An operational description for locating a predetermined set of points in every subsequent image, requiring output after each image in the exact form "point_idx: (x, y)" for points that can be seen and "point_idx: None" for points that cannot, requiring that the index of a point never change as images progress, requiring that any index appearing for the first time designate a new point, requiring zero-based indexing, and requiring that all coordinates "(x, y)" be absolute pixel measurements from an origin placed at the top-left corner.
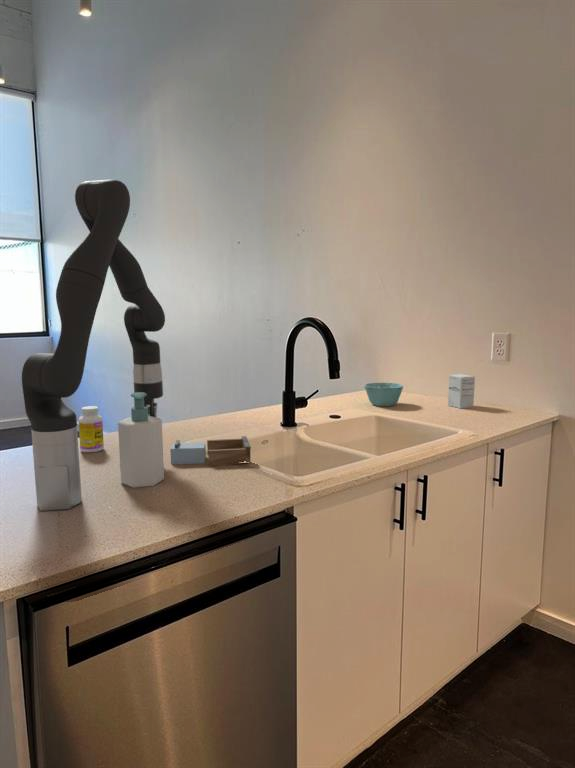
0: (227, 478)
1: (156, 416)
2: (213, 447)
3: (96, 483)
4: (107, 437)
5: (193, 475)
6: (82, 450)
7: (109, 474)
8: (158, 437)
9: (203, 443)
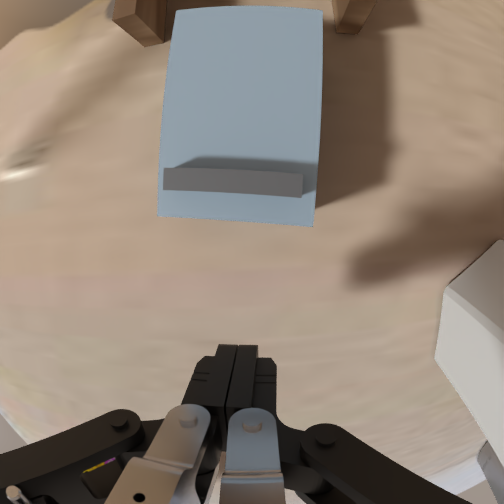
0: (496, 24)
1: (174, 493)
2: (153, 4)
3: (442, 427)
4: (5, 405)
5: (477, 120)
6: None
7: (377, 423)
8: None
9: (205, 14)
